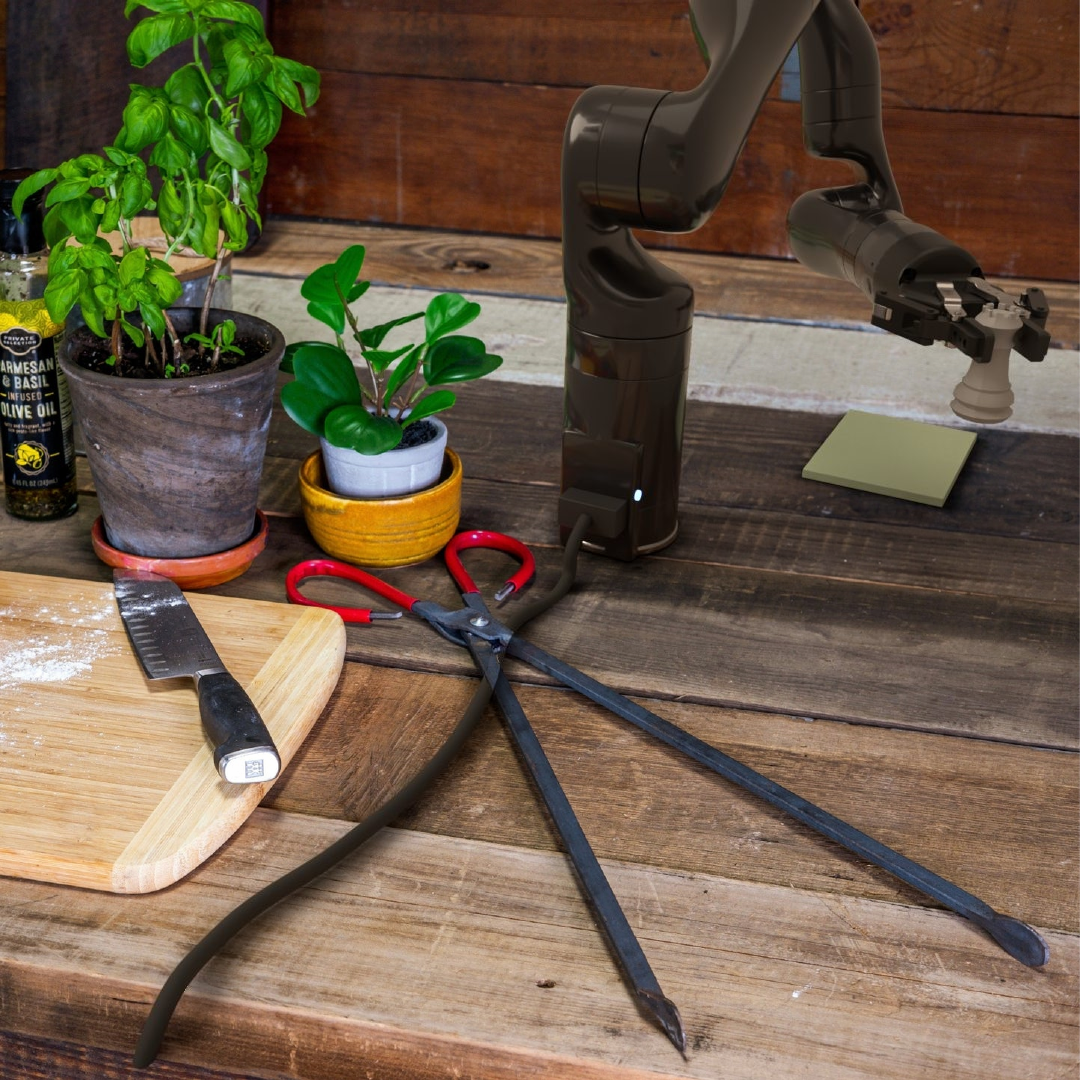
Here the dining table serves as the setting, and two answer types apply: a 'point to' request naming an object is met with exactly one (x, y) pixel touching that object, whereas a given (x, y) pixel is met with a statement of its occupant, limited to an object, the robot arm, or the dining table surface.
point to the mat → (892, 457)
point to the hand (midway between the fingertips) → (1014, 349)
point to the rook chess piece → (990, 372)
